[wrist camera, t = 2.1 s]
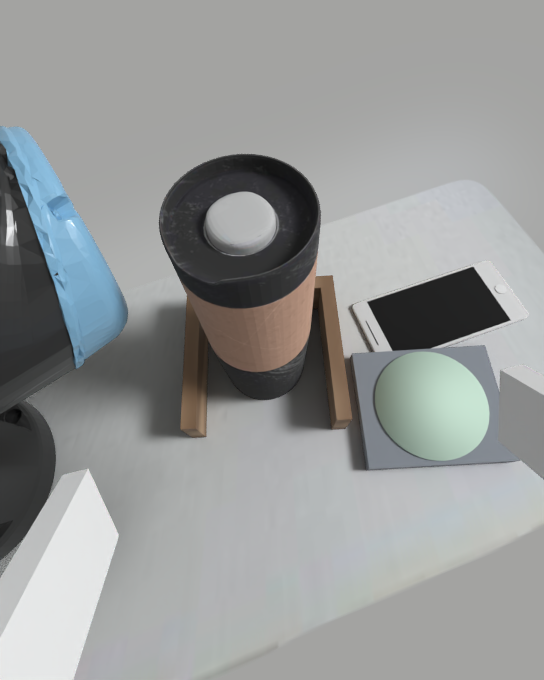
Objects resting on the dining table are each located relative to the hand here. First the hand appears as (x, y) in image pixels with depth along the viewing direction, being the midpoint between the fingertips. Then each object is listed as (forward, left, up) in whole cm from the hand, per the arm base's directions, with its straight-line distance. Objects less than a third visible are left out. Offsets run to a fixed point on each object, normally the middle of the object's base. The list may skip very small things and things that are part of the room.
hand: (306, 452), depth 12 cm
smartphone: (+15, +15, -21) cm, 30 cm away
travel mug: (-2, +11, -21) cm, 24 cm away
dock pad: (+12, +6, -21) cm, 25 cm away
